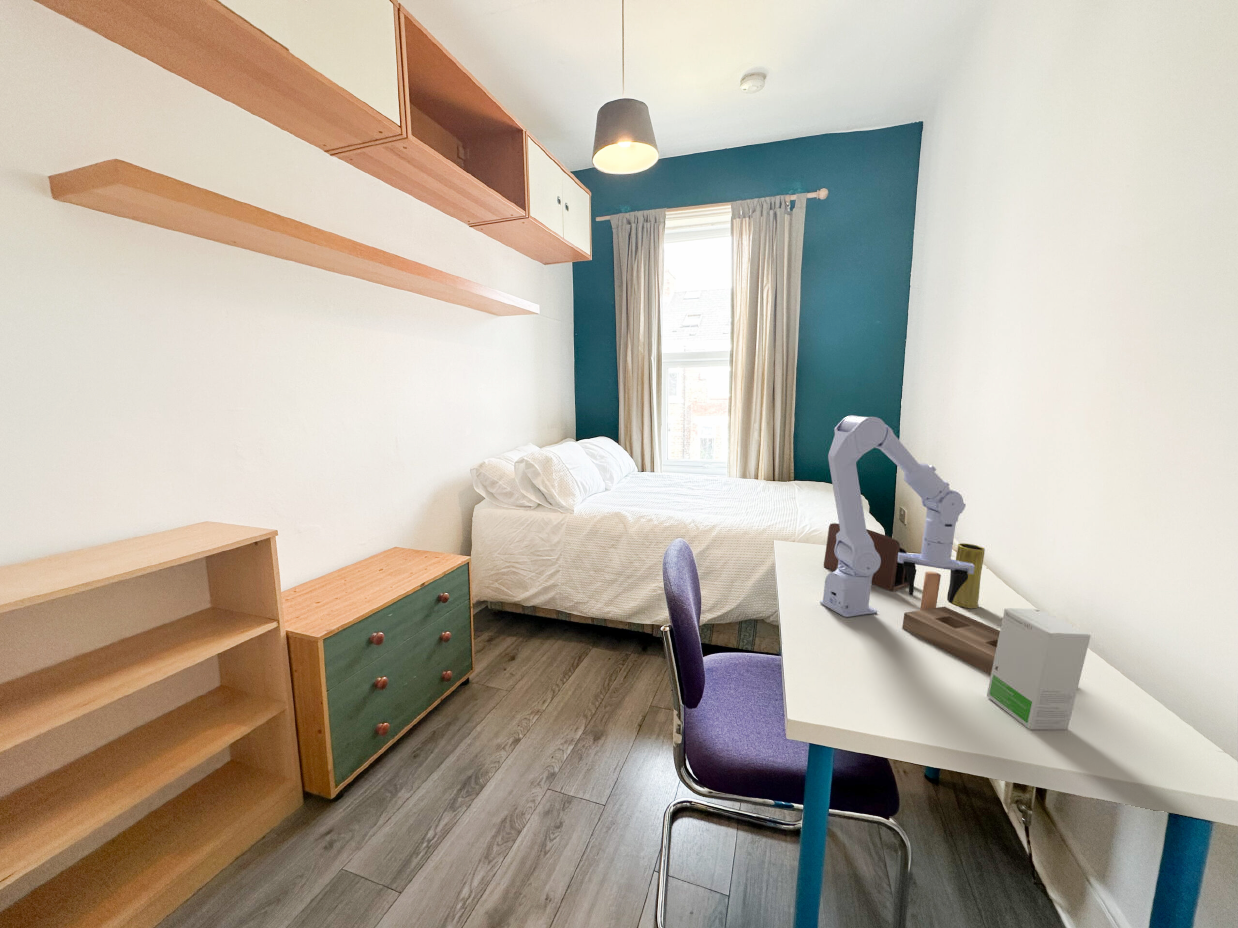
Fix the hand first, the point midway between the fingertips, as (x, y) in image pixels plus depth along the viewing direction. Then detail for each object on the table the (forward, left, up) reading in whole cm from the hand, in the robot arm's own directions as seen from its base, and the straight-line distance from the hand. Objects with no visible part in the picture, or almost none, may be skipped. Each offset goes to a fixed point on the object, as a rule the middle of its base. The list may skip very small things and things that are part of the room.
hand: (929, 597), depth 111 cm
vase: (+13, +1, -4) cm, 13 cm away
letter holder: (+4, +22, -4) cm, 22 cm away
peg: (0, 0, -3) cm, 3 cm away
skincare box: (-20, -32, -4) cm, 38 cm away
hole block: (-8, -16, -3) cm, 18 cm away
